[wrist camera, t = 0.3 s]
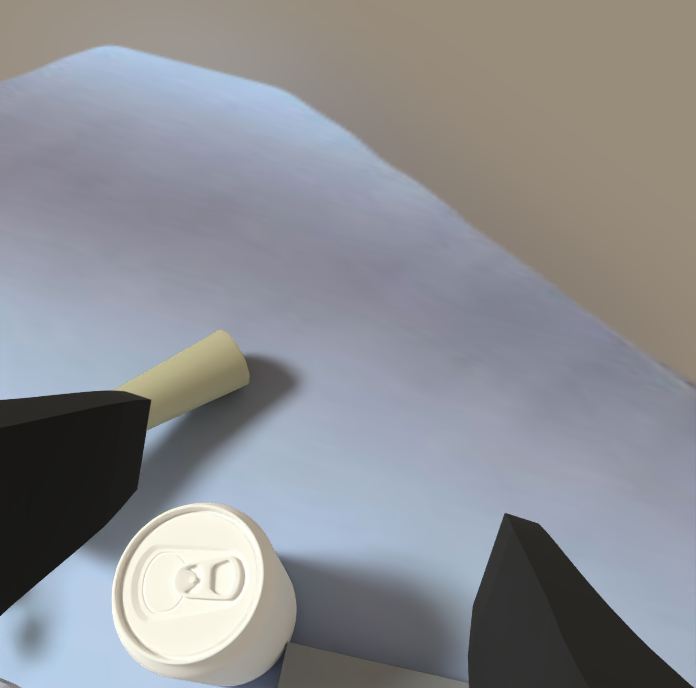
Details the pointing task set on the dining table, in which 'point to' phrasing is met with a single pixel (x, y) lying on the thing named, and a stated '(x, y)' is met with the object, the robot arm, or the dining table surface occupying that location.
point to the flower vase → (191, 378)
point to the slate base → (350, 672)
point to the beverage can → (203, 597)
